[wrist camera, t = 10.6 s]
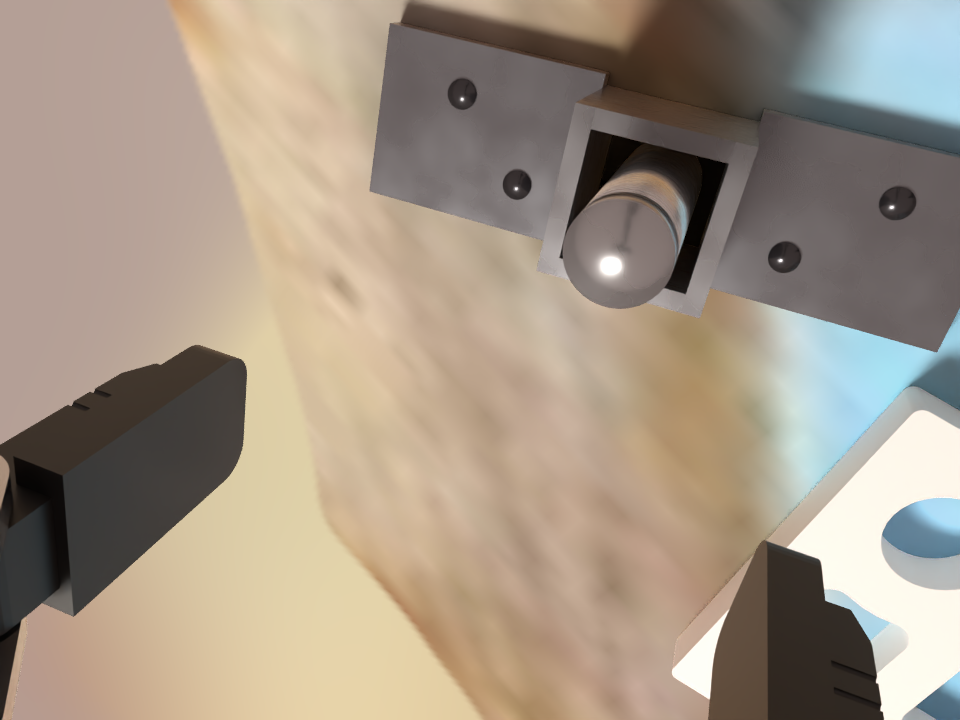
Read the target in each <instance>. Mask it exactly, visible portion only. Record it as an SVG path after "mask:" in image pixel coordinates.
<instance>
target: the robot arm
mask: <svg viewBox="0 0 960 720" xmlns="http://www.w3.org/2000/svg"><path fill="white" fill-rule="evenodd" d="M246 381H247V370H246V366H245V363H244V362H243V361H242V360H241V359H239V358H236V357H233V356H230V355H227V354H224V353H221V352H218V351H215V350H212V349H209V348H206V347H203V346H200V345H194V346H191V347H189V348H188V349H186V350H184V351H183V352H181V353H179V354H178V355H176V356H175V357H173V358H172V359H170V360H168V361H167V362H165V363H163V364H162V365H159V364H153V365H149V366H146V367H142V368H139V369H135V370H131V371H128V372H124V373H121V374H119V375H118V376H116V377H114V378H113V379H111V380H109V381H108V382H106V383H104V384H102V385H101V386H99V387H97V388H96V389H95V391H94V393H91V392H89V393H87V394H85V395H84V396H82V397H80V398H79V399H77V400H75V401H74V402H73V405H72V406H69V405H67V406H65V407H63V408H62V409H60V410H58V411H57V412H55V413H53V414H52V415H50V416H48V417H46V418H45V419H43V420H41V421H40V422H38V423H36V424H35V425H33V426H31V427H30V428H28V429H26V430H25V431H23V432H21V433H19V434H18V435H16V436H14V437H13V438H11V439H9V440H8V441H6V442H4V443H3V444H1V445H0V720H12V715H13V710H14V704H15V698H16V692H17V687H18V682H19V676H20V671H21V665H22V659H23V654H24V648H25V643H26V637H27V628H28V625H27V615H28V614H29V613H31V612H32V611H33V610H34V609H35V608H37V607H38V606H39V605H40V604H41V603H43V604H46V605H48V606H50V607H53V608H55V609H57V610H59V611H62V612H64V613H67V614H69V615H71V616H73V617H74V616H75V615H76V614H77V613H78V612H79V611H80V610H82V609H83V608H84V607H85V606H86V605H87V604H88V603H89V602H91V601H92V600H93V599H94V598H95V597H96V596H97V595H98V594H99V593H101V592H102V591H103V590H104V589H105V588H106V587H107V586H108V585H109V584H111V583H112V582H113V581H114V580H115V579H116V578H117V577H118V576H119V575H120V574H122V573H123V572H124V571H125V570H126V569H127V568H128V567H129V566H130V565H132V564H133V563H134V562H135V561H136V560H137V559H138V558H139V557H140V556H142V555H143V554H144V553H145V552H146V551H147V550H148V549H149V548H151V547H152V546H153V545H154V544H155V543H156V542H157V541H158V540H159V539H160V538H162V537H163V536H164V535H165V534H166V533H167V532H168V531H169V530H170V529H172V527H174V526H175V525H176V524H177V523H178V522H179V521H180V520H182V519H183V518H184V517H185V516H186V515H187V514H188V513H189V512H190V511H192V510H193V509H194V508H195V507H196V506H197V505H198V504H199V503H200V502H202V501H203V500H204V499H205V498H206V497H207V496H208V495H209V494H210V493H212V492H213V491H214V490H215V489H216V488H217V487H218V486H219V485H220V484H222V483H223V482H224V481H225V480H226V479H227V478H228V477H229V475H230V474H231V473H232V471H233V469H234V468H235V466H236V464H237V462H238V459H239V457H240V454H241V451H242V447H243V438H244V437H243V436H244V418H245V400H246V399H245V398H246ZM876 679H877V672H876V666H875V660H874V654H873V648H872V643H871V642H870V640H869V639H868V637H867V635H866V634H865V632H864V630H863V629H862V627H861V626H860V624H859V622H858V621H857V619H856V618H855V616H854V614H853V613H852V611H851V610H850V609H847V608H844V607H841V606H838V605H835V604H832V603H830V602H827V601H825V594H824V584H823V574H822V565H821V562H820V560H819V559H818V558H815V557H812V556H809V555H806V554H803V553H800V552H797V551H794V550H791V549H788V548H785V547H783V546H780V545H777V544H774V543H771V542H768V541H765V540H764V541H762V542H761V543H760V545H759V546H758V548H757V549H756V552H755V554H754V556H753V558H752V560H751V562H750V565H749V567H748V569H747V571H746V574H745V576H744V578H743V580H742V582H741V585H740V587H739V589H738V591H737V593H736V596H735V598H734V600H733V602H732V605H731V607H730V609H729V611H728V613H727V616H726V618H725V620H724V623H723V625H722V628H721V631H720V634H719V637H718V641H717V645H716V649H715V654H714V659H713V667H712V679H711V692H710V704H709V717H708V720H884V715H883V712H882V711H880V709H881V705H882V703H881V697H880V691H879V684H878V683H876Z"/></svg>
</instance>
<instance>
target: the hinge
mask: <svg viewBox="0 0 960 720" xmlns="http://www.w3.org/2000/svg"><path fill="white" fill-rule="evenodd" d="M609 75H610V72H608V71H603V70H599V69H595V68H591V67H586V66H582V65H578V64H574V63H570V62H565V61H561V60H557V59H553V58H548V57H544V56H540V55H536V54H531V53H527V52H523V51H519V50H514V49H510V48H506V47H502V46H497V45H493V44H489V43H485V42H481V41H476V40H472V39H468V38H464V37H459V36H455V35H451V34H447V33H442V32H438V31H434V30H430V29H425V28H421V27H417V26H413V25H408V24H404V23H390V28H389V36H388V44H387V52H386V60H385V69H384V77H383V85H382V93H381V102H380V110H379V118H378V126H377V134H376V143H375V151H374V159H373V167H372V175H371V184H370V192H374V193H377V194H381V195H385V196H388V197H392V198H395V199H399V200H402V201H406V202H409V203H413V204H416V205H420V206H423V207H427V208H430V209H434V210H437V211H441V212H444V213H448V214H451V215H455V216H458V217H462V218H465V219H469V220H472V221H476V222H480V223H483V224H487V225H490V226H494V227H497V228H501V229H504V230H508V231H511V232H515V233H518V234H522V235H525V236H529V237H532V238H536V239H539V240H543V245H542V249H541V253H540V258H539V262H538V266H537V271H540V272H543V273H546V274H550V275H553V276H557V277H560V278H563V279H567V280H570V279H569V277H568V275H567V273H566V270H565V267H564V263H563V243H564V239H565V236H566V233H567V231H568V229H569V227H570V225H571V224H572V222H573V221H574V220H575V218H576V217H577V216H578V215H579V214H580V213H581V212H582V210H583V209H584V208H585V207H586V206H587V205H588V203H589V202H590V201H591V200H592V199H593V198H594V197H595V195H596V194H597V193H598V189H599V185H600V181H601V177H602V173H603V169H604V165H605V162H606V158H607V154H608V150H609V146H610V142H611V138H612V134H613V135H617V136H621V137H624V138H628V139H632V140H636V141H640V142H644V143H648V144H652V145H656V146H660V147H664V148H668V149H672V150H676V151H680V152H684V153H688V154H692V155H696V156H700V157H704V158H708V159H712V160H716V161H720V162H724V163H726V165H725V168H724V171H723V174H722V177H721V180H720V183H719V187H718V190H717V193H716V196H715V199H714V202H713V205H712V208H711V211H710V214H709V217H708V220H707V223H706V226H705V229H704V232H703V235H702V238H701V241H700V244H699V247H695V246H691V245H688V244H684V243H682V246H681V249H680V252H679V255H678V258H677V261H676V264H675V267H674V269H673V272H672V275H671V277H670V279H669V281H668V283H667V284H666V286H665V287H664V288H663V290H662V291H661V292H660V293H659V294H658V295H657V296H655V297H654V298H653V299H651V300H649V301H648V302H646V303H649V304H652V305H656V306H659V307H663V308H666V309H669V310H673V311H676V312H680V313H683V314H687V315H690V316H693V317H697V318H700V316H701V313H702V310H703V307H704V304H705V301H706V298H707V296H708V293H709V290H710V288H712V289H715V290H719V291H722V292H726V293H729V294H733V295H736V296H740V297H743V298H747V299H750V300H754V301H758V302H761V303H765V304H768V305H772V306H775V307H779V308H782V309H786V310H789V311H793V312H796V313H800V314H803V315H807V316H810V317H814V318H817V319H821V320H824V321H828V322H831V323H835V324H838V325H842V326H846V327H849V328H853V329H856V330H860V331H863V332H867V333H870V334H874V335H877V336H881V337H884V338H888V339H891V340H895V341H898V342H902V343H905V344H909V345H912V346H916V347H919V348H923V349H926V350H930V351H933V352H937V351H938V349H939V347H940V345H941V343H942V342H943V340H944V338H945V336H946V334H947V332H948V330H949V328H950V326H951V324H952V322H953V320H954V318H955V316H956V314H957V312H958V310H959V308H960V155H959V154H955V153H951V152H947V151H942V150H938V149H934V148H930V147H926V146H921V145H917V144H913V143H909V142H904V141H900V140H896V139H892V138H887V137H883V136H879V135H875V134H870V133H866V132H862V131H858V130H853V129H849V128H845V127H841V126H837V125H832V124H828V123H824V122H820V121H815V120H811V119H807V118H803V117H798V116H794V115H790V114H786V113H781V112H777V111H773V110H769V109H764V111H763V113H762V116H761V119H760V122H758V121H754V120H750V119H746V118H742V117H737V116H733V115H729V114H725V113H721V112H717V111H712V110H708V109H704V108H700V107H696V106H692V105H687V104H683V103H679V102H675V101H671V100H666V99H662V98H658V97H654V96H650V95H646V94H641V93H637V92H633V91H629V90H625V89H621V88H616V87H612V86H608V85H607V83H608V79H609Z"/></svg>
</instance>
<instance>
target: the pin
mask: <svg viewBox="0 0 960 720" xmlns="http://www.w3.org/2000/svg"><path fill="white" fill-rule="evenodd" d="M702 180H703V174H702V168H701V165H700V162H699V160H698V158H697V157H696V155H692V154H688V153H684V152H680V151H676V150H672V149H668V148H664V147H660V146H656V145H652V144H648V143H644V144H642V145H641V146H639V147H638V148H637V149H636V150H635V151H633V153H632V154H631V155H630V156H629V157H628V158H627V160H626V161H625V162H624V163H623V164H622V165H621V166H620V168H619V169H618V170H617V171H616V172H615V173H614V175H613V176H612V177H611V178H610V179H609V180H608V181H607V183H606V184H605V185H604V186H603V187H602V188H601V190H600V191H599V192H598V193H597V194H596V195H595V197H594V198H593V199H592V200H591V201H590V202H589V203H588V205H587V206H586V207H585V208H584V209H583V210H582V212H581V213H580V214H579V215H578V216H577V217H576V218H575V220H574V221H573V222H572V224H571V225H570V227H569V229H568V231H567V233H566V236H565V239H564V243H563V263H564V267H565V270H566V273H567V275H568V277H569V279H570V281H571V282H572V284H573V285H574V287H575V288H576V289H577V290H578V291H579V292H580V293H581V294H582V295H583V296H584V297H586V298H587V299H589V300H590V301H592V302H594V303H596V304H599V305H601V306H605V307H609V308H617V309H624V308H632V307H635V306H639V305H641V304H644V303H646V302H648V301H649V300H651V299H653V298H654V297H655V296H657V295H658V294H659V293H660V292H661V291H662V290H663V288H664V287H665V286H666V284H667V283H668V281H669V279H670V277H671V275H672V272H673V269H674V267H675V264H676V261H677V258H678V255H679V252H680V249H681V246H682V243H683V240H684V237H685V234H686V231H687V228H688V226H689V223H690V220H691V217H692V214H693V211H694V208H695V205H696V202H697V199H698V196H699V193H700V190H701V187H702Z"/></svg>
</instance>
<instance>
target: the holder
mask: <svg viewBox="0 0 960 720" xmlns="http://www.w3.org/2000/svg"><path fill="white" fill-rule="evenodd" d="M939 497H942V498H955V499H960V411H959V410H958V409H956V408H954V407H952V406H951V405H949V404H947V403H945V402H944V401H942V400H940V399H939V398H937V397H935V396H933V395H932V394H930V393H928V392H926V391H925V390H923V389H921V388H919V387H916V386H911V387H907V388H905V389H904V390H903V391H902V392H901V393H900V394H899V395H898V396H897V398H896V399H895V400H894V401H893V402H892V403H891V404H890V405H889V406H888V407H887V409H886V410H885V411H884V412H883V413H882V414H881V415H880V416H879V417H878V418H877V420H876V421H875V422H874V423H873V424H872V425H871V426H870V427H869V428H868V429H867V431H866V432H865V433H864V434H863V435H862V436H861V437H860V438H859V439H858V440H857V441H856V443H855V444H854V445H853V446H852V447H851V448H850V449H849V450H848V451H847V452H846V454H845V455H844V456H843V457H842V458H841V459H840V460H839V461H838V462H837V463H836V465H835V466H834V467H833V468H832V469H831V470H830V471H829V472H828V473H827V474H826V476H825V477H824V478H823V479H822V480H821V481H820V482H819V483H818V484H817V485H816V486H815V488H814V489H813V490H812V491H811V492H810V493H809V494H808V495H807V496H806V497H805V499H804V500H803V501H802V502H801V503H800V504H799V505H798V506H797V507H796V508H795V510H794V511H793V512H792V513H791V514H790V515H789V516H788V517H787V518H786V519H785V521H784V522H783V523H782V524H781V525H780V526H779V527H778V528H777V529H776V530H775V531H774V533H773V534H772V535H771V536H770V537H769V538H768V539H767V540H766V541H768V542H771V543H774V544H777V545H780V546H783V547H785V548H788V549H791V550H794V551H797V552H800V553H803V554H806V555H809V556H812V557H815V558H818V559H819V560H820V562H821V565H822V574H823V584H824V589H834V590H838V591H841V592H843V593H845V594H846V595H848V596H849V597H850V598H851V599H852V600H854V601H855V602H856V603H857V604H859V605H860V606H861V607H862V608H864V609H866V610H867V611H869V612H871V613H872V614H874V615H876V616H877V617H879V618H882V619H884V620H886V621H889V622H891V623H890V624H888V625H887V626H886V627H885V628H884V629H883V630H882V631H881V632H879V633H878V634H877V635H876V636H875V637H874V638H873V639H872V640H871V641H870V642H871V643H872V648H873V654H874V660H875V666H876V672H877V679H876V683H878V684H879V691H880V697H881V703H882V705H881V709H880V711H882V712H883V715H884V720H936V719H935V718H933V717H932V716H930V715H928V714H927V713H925V712H923V711H922V710H920V709H918V708H917V707H915V706H916V705H918V704H919V703H920V702H921V701H923V700H924V699H925V698H926V697H928V696H929V695H930V694H931V693H933V692H934V691H935V690H936V689H938V688H939V687H940V686H941V685H943V684H944V683H945V682H946V681H948V680H949V679H950V678H951V677H953V676H954V675H955V674H956V673H958V672H959V671H960V554H958V555H956V556H951V557H946V558H923V557H918V556H914V555H911V554H908V553H905V552H903V551H901V550H899V549H897V548H896V547H894V546H893V545H891V544H890V543H889V542H888V541H887V540H886V539H885V538H884V537H883V536H882V533H883V529H884V528H885V526H886V524H887V522H888V521H889V520H890V519H891V517H892V516H893V515H894V514H896V513H897V512H898V511H899V510H900V509H902V508H904V507H906V506H907V505H909V504H912V503H914V502H917V501H920V500H925V499H929V498H939ZM754 554H755V553H754ZM753 556H754V555H753ZM753 556H752V557H751V558H750V559H749V560H748V561H747V562H746V563H745V564H744V566H743V567H742V568H741V569H740V570H739V571H738V572H737V573H736V574H735V575H734V577H733V578H732V579H731V580H730V581H729V582H728V583H727V584H726V585H725V586H724V587H723V589H722V590H721V591H720V592H719V593H718V594H717V595H716V596H715V597H714V598H713V600H712V601H711V602H710V603H709V604H708V605H707V606H706V607H705V608H704V609H703V611H702V612H701V613H700V614H699V615H698V616H697V617H696V618H695V619H694V620H693V622H692V623H691V624H690V625H689V626H688V627H687V628H686V629H685V630H684V631H683V632H682V634H681V635H680V636H679V637H678V638H677V640H676V646H675V654H674V661H673V668H672V675H673V676H674V677H675V678H676V679H678V680H679V681H681V682H682V683H684V684H686V685H687V686H689V687H690V688H692V689H694V690H695V691H697V692H698V693H700V694H702V695H703V696H705V697H707V698H708V699H710V692H711V679H712V667H713V659H714V654H715V649H716V645H717V641H718V637H719V634H720V631H721V628H722V625H723V623H724V620H725V618H726V616H727V613H728V611H729V609H730V607H731V605H732V602H733V600H734V598H735V596H736V593H737V591H738V589H739V587H740V585H741V582H742V580H743V578H744V576H745V574H746V571H747V569H748V567H749V565H750V562H751V560H752V558H753Z"/></svg>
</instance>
